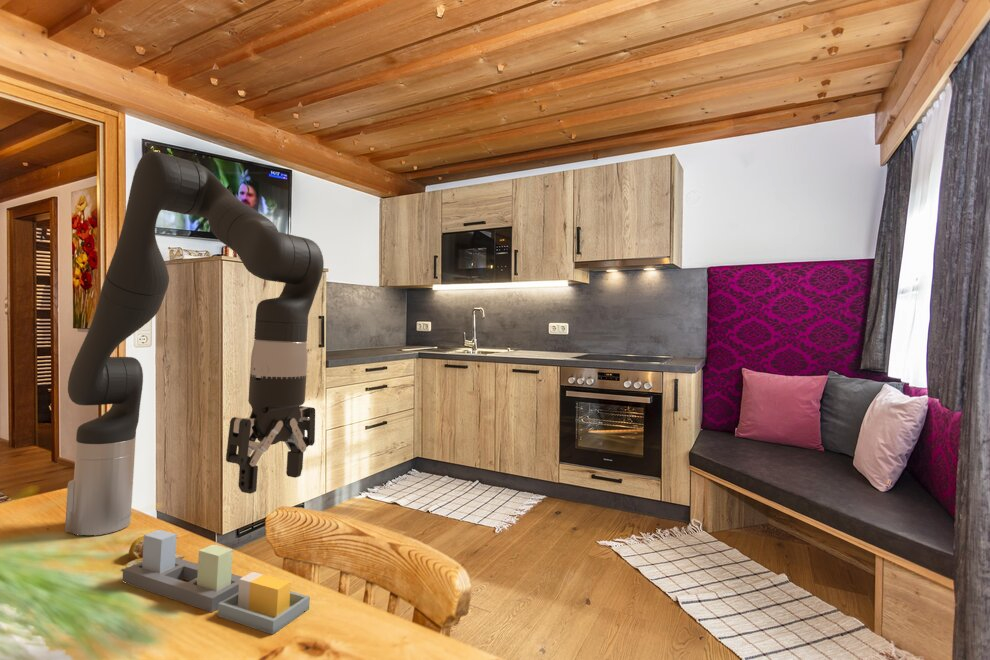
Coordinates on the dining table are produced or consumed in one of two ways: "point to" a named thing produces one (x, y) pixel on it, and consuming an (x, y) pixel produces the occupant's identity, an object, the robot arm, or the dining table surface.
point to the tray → (261, 621)
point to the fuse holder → (180, 584)
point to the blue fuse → (159, 551)
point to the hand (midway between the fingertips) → (271, 483)
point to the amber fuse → (264, 594)
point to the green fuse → (214, 567)
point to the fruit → (138, 552)
